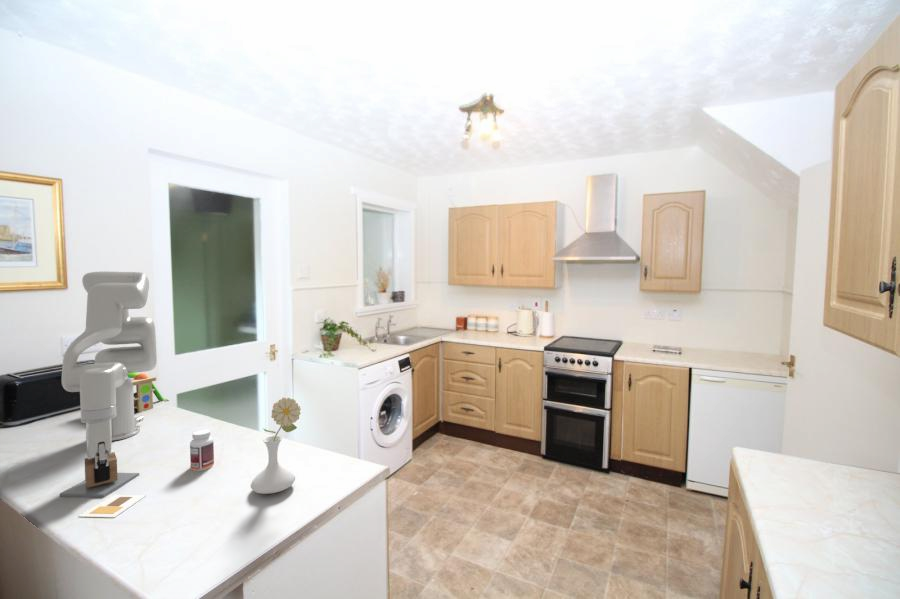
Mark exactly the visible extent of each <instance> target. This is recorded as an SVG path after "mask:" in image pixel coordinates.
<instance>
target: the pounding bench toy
mask: <svg viewBox="0 0 900 599" xmlns="http://www.w3.org/2000/svg"><path fill="white" fill-rule="evenodd" d="M127 378H128V379H129V380H130V381H131V382H132V384H133V387H134V386H135V389H136V392H134V411H137V413H142V412H146V411H149V410H152V409H154V400H153V397H154V396H153V394H154V395H155V397H156V399H157V400H158V402H164V403H166V402H169V401H170V400H169V399H167V398H165V397H163V396H162V394H161V393H160V392H159V390H158V388H157V387H156V385H155V384H154V383H153V382H156V381H157V377H156V376H152V375H147V374H145V373H143V372H139V373H138V372H135V373H128V375H127Z"/></svg>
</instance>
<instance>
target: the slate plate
mask: <svg viewBox="0 0 900 599" xmlns="http://www.w3.org/2000/svg"><path fill="white" fill-rule="evenodd" d="M139 476H140V472H139V473H138V472H117V479H118V480H117V481H113V482H109V483H105V484H101V485H97V486H93V487H90V488H86V481H85V480H84V479H83V480H82V481H80V482H79V483H76V484H75V485H72V486H71V487H69V488H67V489H66V490H63V491H61V492H60V493H59V497H67V498H69V497H75V498H105V497H107V496H108V495H111V494H112V493H114V492H115V491H117V490H119V489H120V488H122V487H124V486H125V485H126V484H129V483H130V482H131V481H133V480H134V479H136V478H137V477H139Z"/></svg>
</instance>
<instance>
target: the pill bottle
mask: <svg viewBox="0 0 900 599" xmlns="http://www.w3.org/2000/svg"><path fill="white" fill-rule="evenodd" d="M191 436H192V440H191V441H190V443H189V453H190V455H189V456H190V458H189V459H190V469H191V471H193V472H202V471H207V470H208V469H211V468H213V467H214V465H215V451H214V450H215V449H214V447H215V446H214V438H213V437H212V436H211V430H210V429H199V430H196V431H193V432H192V435H191Z"/></svg>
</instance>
